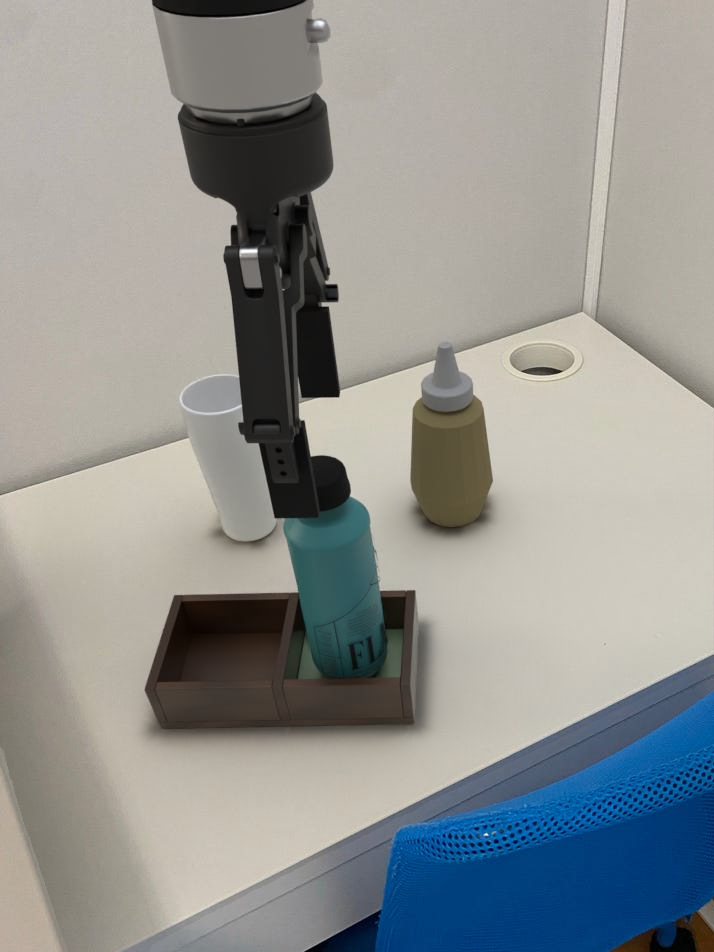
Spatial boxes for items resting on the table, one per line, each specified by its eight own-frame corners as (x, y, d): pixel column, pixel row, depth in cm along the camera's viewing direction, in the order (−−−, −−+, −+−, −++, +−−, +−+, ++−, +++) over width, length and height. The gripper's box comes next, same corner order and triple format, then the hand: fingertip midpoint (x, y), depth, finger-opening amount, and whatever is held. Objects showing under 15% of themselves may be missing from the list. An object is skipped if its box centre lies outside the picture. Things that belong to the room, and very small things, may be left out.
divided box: (160, 728, 75) (143, 689, 72) (187, 634, 82) (173, 594, 79) (414, 723, 75) (410, 684, 71) (419, 629, 82) (415, 589, 79)
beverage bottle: (355, 709, 75) (319, 511, 60) (296, 673, 78) (248, 475, 63) (408, 660, 78) (386, 462, 64) (349, 627, 81) (315, 430, 67)
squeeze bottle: (472, 544, 90) (467, 377, 77) (398, 523, 92) (381, 357, 80) (506, 497, 95) (506, 332, 82) (435, 478, 98) (424, 315, 85)
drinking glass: (208, 549, 90) (168, 414, 79) (224, 505, 95) (188, 372, 84) (278, 549, 90) (247, 414, 79) (290, 505, 95) (263, 372, 84)
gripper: (293, 194, 39) (350, 575, 54) (347, 29, 56) (378, 353, 71) (111, 197, 39) (220, 577, 54) (221, 31, 56) (279, 355, 71)
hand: (310, 450), depth 63 cm, fingers open, 13 cm apart
